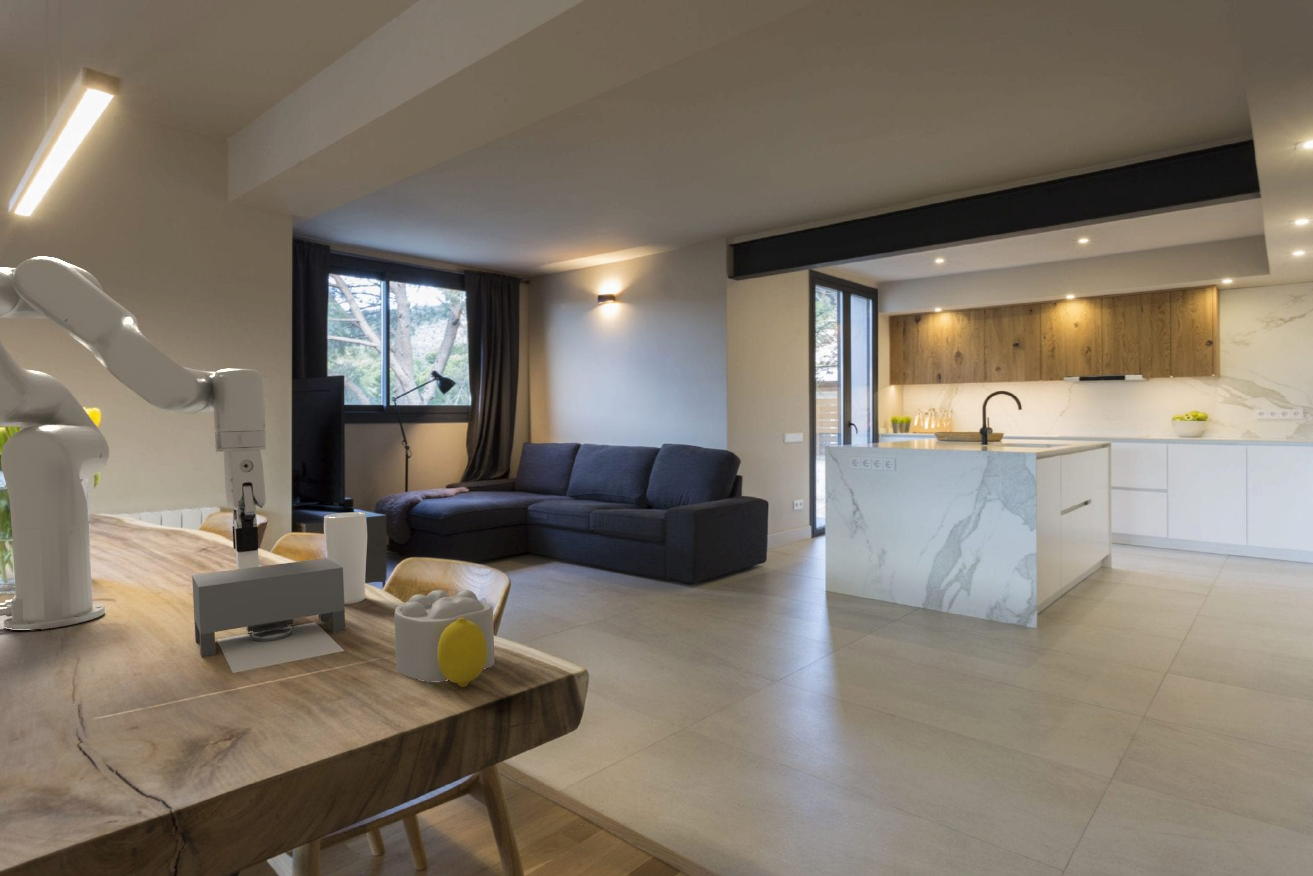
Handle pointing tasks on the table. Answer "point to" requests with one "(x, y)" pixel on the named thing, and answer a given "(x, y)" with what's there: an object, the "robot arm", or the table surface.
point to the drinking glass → (348, 550)
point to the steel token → (271, 633)
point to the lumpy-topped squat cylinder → (436, 630)
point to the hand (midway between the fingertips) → (245, 548)
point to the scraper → (249, 561)
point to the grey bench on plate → (266, 597)
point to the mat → (277, 648)
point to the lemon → (462, 652)
